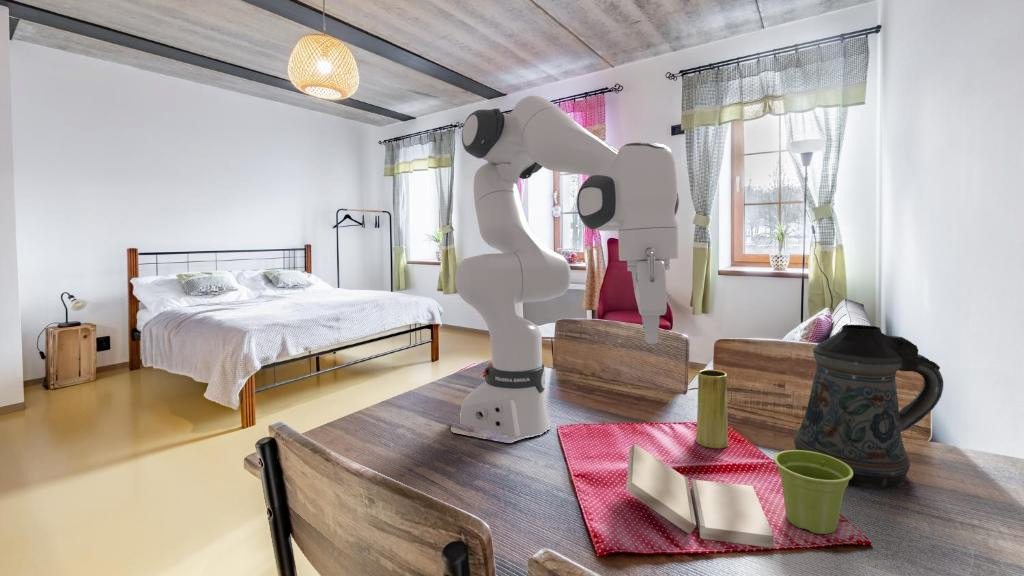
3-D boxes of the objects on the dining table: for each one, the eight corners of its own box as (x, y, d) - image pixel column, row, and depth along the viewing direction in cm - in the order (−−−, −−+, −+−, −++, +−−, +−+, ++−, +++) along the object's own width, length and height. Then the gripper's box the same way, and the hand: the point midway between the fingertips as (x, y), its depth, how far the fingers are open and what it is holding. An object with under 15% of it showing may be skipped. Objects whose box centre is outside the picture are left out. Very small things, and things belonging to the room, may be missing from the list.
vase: (732, 450, 90) (733, 377, 89) (698, 448, 91) (698, 377, 90) (724, 436, 96) (725, 369, 95) (692, 435, 97) (693, 368, 96)
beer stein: (773, 449, 90) (776, 321, 87) (867, 441, 92) (872, 316, 89) (842, 495, 73) (848, 339, 71) (954, 485, 75) (964, 332, 73)
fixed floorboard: (700, 538, 64) (700, 525, 64) (691, 489, 76) (691, 478, 76) (773, 548, 62) (773, 535, 61) (752, 495, 74) (752, 485, 74)
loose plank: (626, 490, 66) (632, 481, 66) (629, 450, 79) (634, 443, 78) (689, 534, 64) (696, 525, 64) (682, 486, 77) (688, 478, 76)
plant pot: (759, 506, 71) (760, 451, 70) (817, 501, 72) (819, 447, 71) (802, 545, 62) (804, 483, 61) (868, 539, 63) (871, 478, 62)
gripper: (676, 247, 61) (678, 350, 62) (663, 247, 81) (665, 326, 82) (627, 249, 63) (629, 350, 64) (626, 249, 83) (628, 326, 84)
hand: (649, 337), depth 73 cm, fingers open, 8 cm apart
